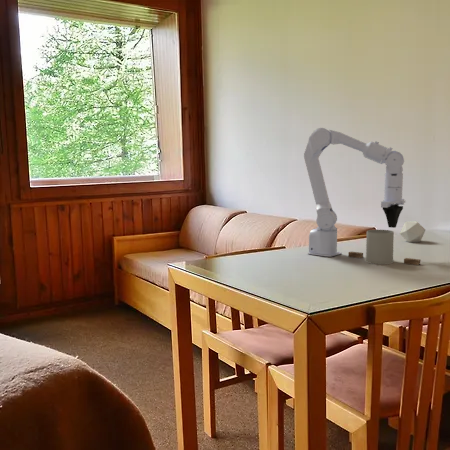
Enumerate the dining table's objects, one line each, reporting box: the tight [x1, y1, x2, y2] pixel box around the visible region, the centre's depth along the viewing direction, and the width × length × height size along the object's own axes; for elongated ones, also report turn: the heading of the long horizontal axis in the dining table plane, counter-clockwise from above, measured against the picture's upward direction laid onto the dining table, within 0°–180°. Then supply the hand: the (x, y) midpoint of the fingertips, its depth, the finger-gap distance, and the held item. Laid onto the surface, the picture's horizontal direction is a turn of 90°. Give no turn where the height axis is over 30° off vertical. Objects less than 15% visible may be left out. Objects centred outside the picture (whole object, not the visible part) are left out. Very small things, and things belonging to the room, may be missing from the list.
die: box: [399, 220, 426, 243], centre depth 204 cm, size 8×9×10 cm
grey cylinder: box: [365, 229, 395, 265], centre depth 164 cm, size 8×8×10 cm
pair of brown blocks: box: [348, 251, 421, 266], centre depth 167 cm, size 24×2×2 cm, turn 49°
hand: (392, 227), depth 171 cm, fingers closed
